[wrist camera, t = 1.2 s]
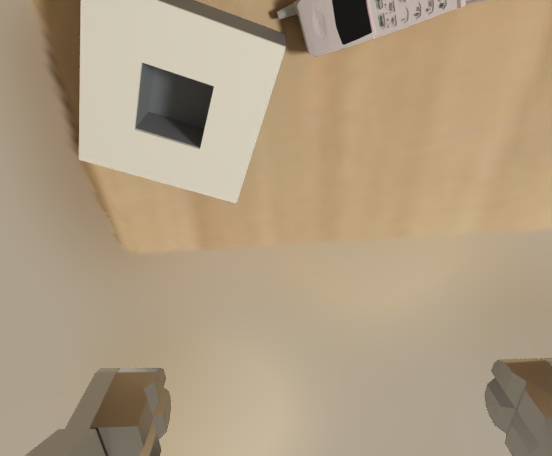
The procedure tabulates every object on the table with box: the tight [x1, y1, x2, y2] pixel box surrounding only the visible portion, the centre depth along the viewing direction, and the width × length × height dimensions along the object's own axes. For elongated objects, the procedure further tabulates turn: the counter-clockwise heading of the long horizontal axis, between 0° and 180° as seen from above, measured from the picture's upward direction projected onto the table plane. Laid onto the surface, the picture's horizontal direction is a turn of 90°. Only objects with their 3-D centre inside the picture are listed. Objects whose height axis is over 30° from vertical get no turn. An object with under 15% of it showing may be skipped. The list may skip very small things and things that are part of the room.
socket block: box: [79, 0, 286, 203], centre depth 40 cm, size 18×18×6 cm
